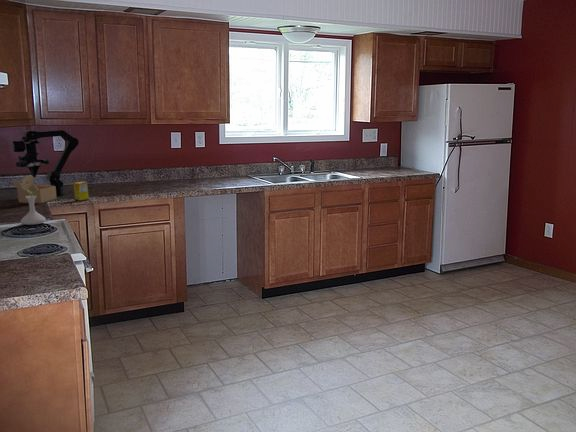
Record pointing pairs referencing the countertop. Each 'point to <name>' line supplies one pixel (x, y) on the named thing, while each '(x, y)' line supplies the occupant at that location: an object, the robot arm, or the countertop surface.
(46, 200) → the carton
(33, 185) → the carton flap
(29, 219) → the flower in vase
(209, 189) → the countertop surface
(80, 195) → the supplement box
